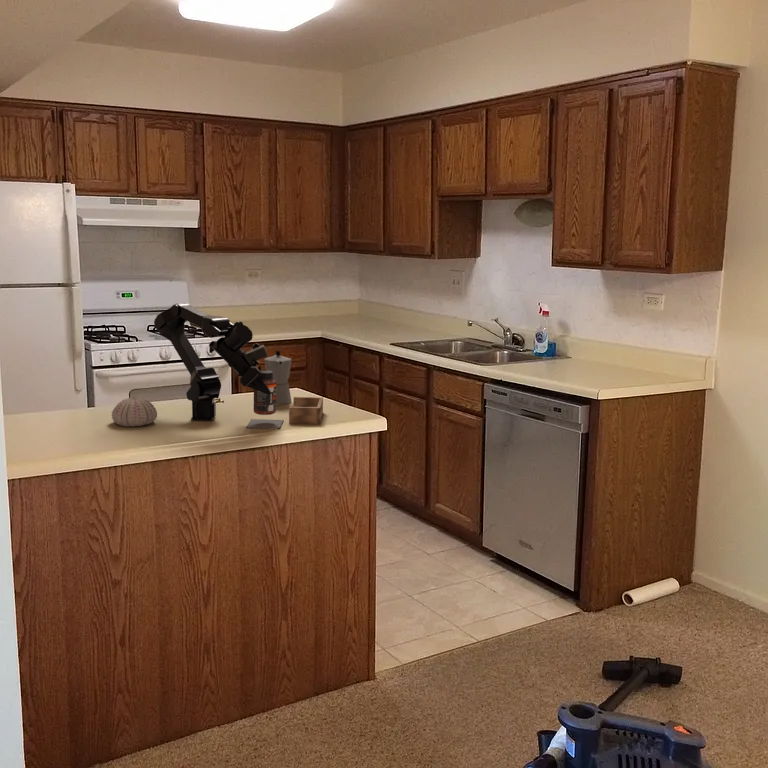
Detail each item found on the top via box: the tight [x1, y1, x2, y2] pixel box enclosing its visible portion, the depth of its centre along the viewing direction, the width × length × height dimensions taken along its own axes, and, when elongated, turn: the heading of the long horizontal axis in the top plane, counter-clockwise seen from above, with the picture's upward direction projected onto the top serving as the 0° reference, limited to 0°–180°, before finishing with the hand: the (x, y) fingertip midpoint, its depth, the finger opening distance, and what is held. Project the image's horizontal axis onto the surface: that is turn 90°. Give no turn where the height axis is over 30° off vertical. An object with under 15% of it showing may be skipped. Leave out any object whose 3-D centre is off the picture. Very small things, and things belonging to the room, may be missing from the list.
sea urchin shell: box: [111, 396, 158, 428], centre depth 251 cm, size 13×14×8 cm
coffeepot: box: [263, 349, 293, 405], centre depth 286 cm, size 15×9×18 cm, turn 15°
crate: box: [288, 396, 324, 425], centre depth 265 cm, size 10×16×5 cm, turn 1°
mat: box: [245, 418, 284, 429], centre depth 254 cm, size 10×10×1 cm
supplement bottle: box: [253, 370, 277, 416], centre depth 253 cm, size 7×7×13 cm
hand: (269, 391), depth 253 cm, fingers closed on supplement bottle, 7 cm apart
